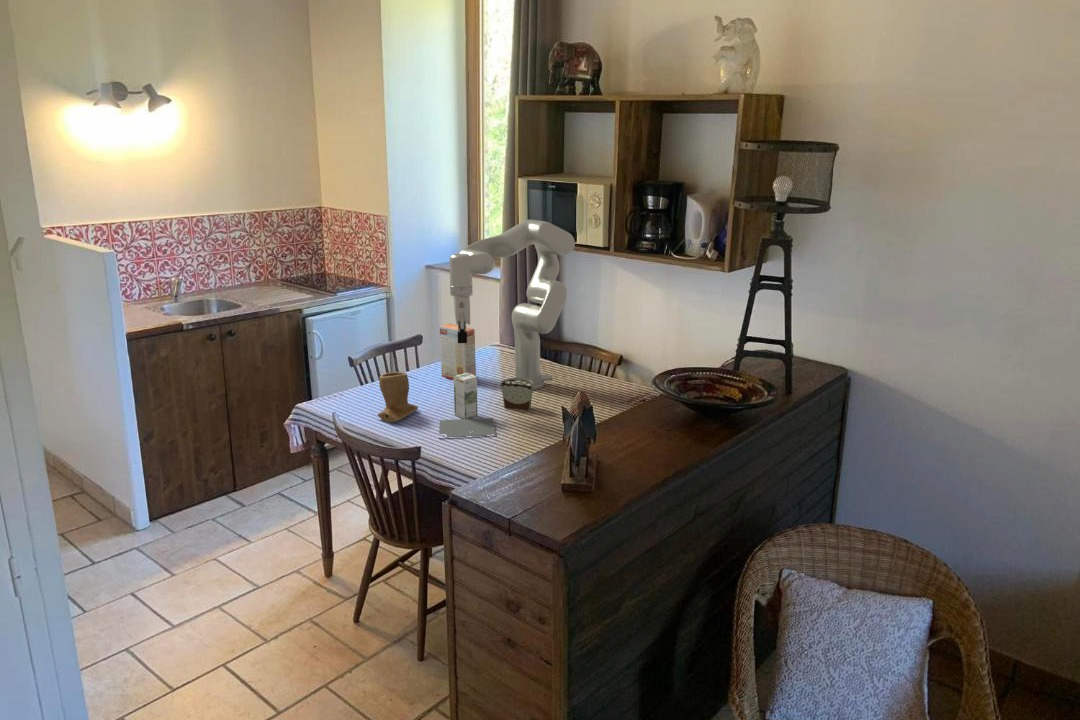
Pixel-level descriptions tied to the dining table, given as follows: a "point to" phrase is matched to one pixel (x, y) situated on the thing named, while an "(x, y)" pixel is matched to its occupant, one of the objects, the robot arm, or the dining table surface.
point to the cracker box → (457, 352)
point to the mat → (467, 427)
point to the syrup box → (465, 395)
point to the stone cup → (395, 396)
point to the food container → (517, 393)
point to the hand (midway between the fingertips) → (462, 342)
